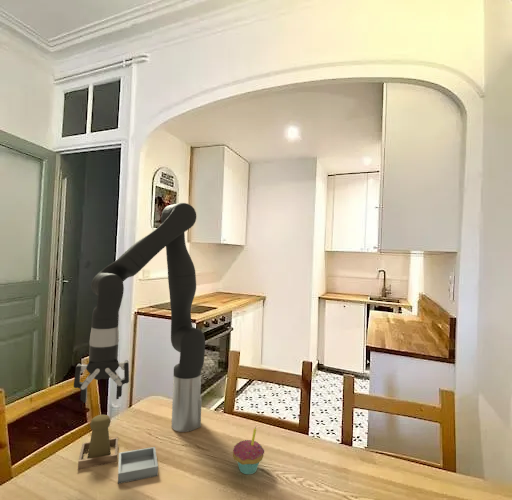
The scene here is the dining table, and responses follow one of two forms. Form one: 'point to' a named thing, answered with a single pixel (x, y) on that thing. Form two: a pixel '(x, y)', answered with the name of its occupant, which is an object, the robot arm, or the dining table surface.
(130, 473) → the grey tray
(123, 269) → the robot arm
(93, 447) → the olive pawn
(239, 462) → the cupcake
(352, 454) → the dining table surface
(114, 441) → the walnut frame
